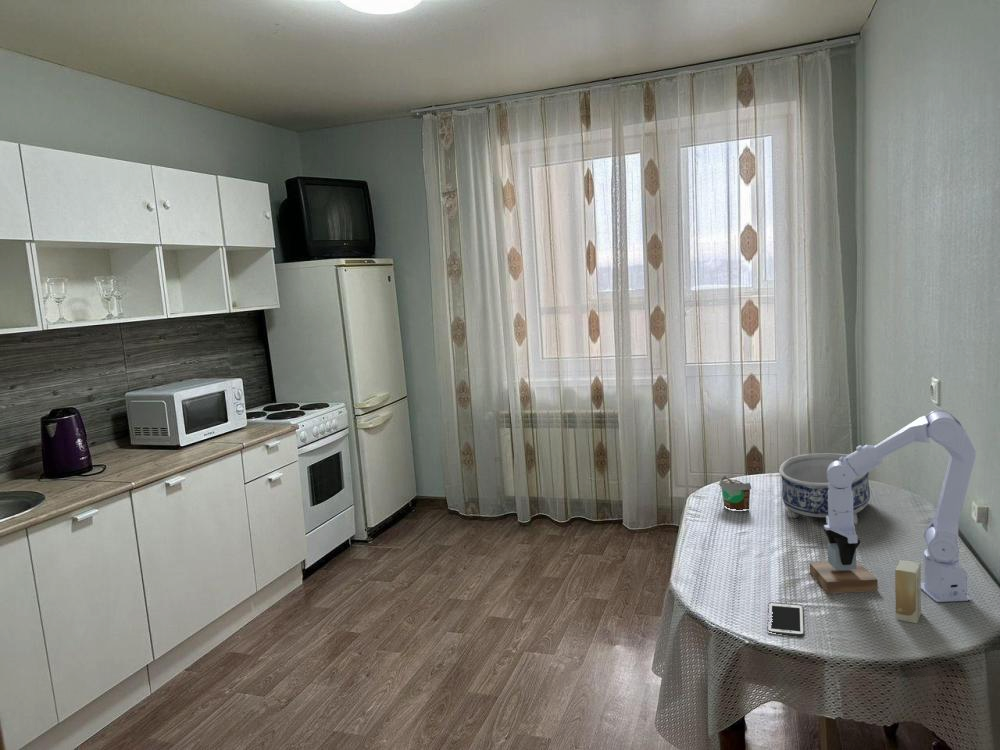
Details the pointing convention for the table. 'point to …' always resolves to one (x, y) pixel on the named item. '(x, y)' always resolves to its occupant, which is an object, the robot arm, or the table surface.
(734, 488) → the food container
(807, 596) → the table surface
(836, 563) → the slate cube
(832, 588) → the walnut base
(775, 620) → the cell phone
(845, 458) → the robot arm
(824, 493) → the decorative bowl
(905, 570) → the skincare box
